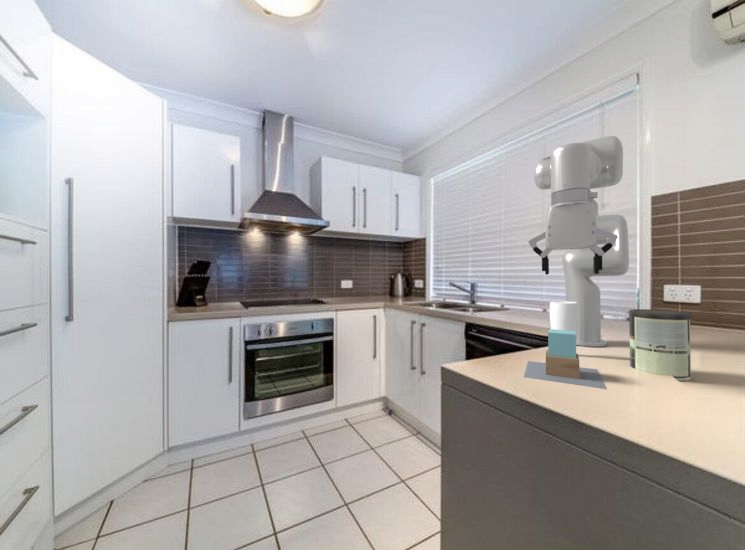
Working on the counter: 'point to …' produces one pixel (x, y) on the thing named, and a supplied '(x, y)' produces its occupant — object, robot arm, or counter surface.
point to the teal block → (562, 343)
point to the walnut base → (562, 366)
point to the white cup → (564, 315)
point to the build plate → (585, 374)
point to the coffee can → (660, 342)
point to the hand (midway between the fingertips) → (570, 273)
